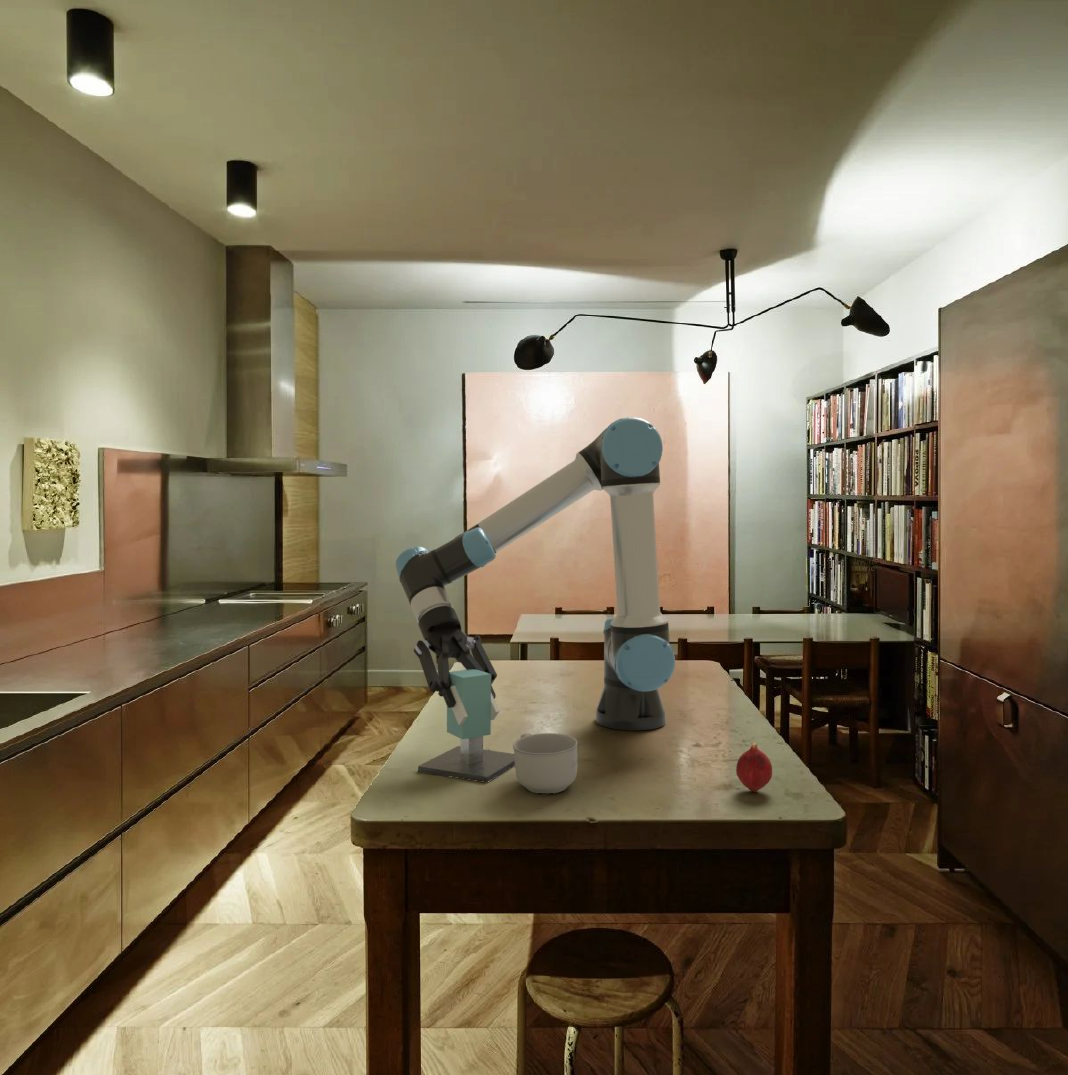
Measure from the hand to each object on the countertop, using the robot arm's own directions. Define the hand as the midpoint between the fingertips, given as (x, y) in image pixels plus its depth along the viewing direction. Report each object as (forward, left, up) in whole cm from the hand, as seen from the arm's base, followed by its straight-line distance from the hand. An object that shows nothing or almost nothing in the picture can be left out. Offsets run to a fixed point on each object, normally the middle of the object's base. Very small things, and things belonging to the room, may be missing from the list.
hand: (479, 718), depth 149 cm
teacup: (-13, +2, -10) cm, 17 cm away
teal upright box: (+3, -2, -4) cm, 5 cm away
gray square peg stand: (+3, -2, -10) cm, 10 cm away
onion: (-46, -10, -10) cm, 48 cm away
